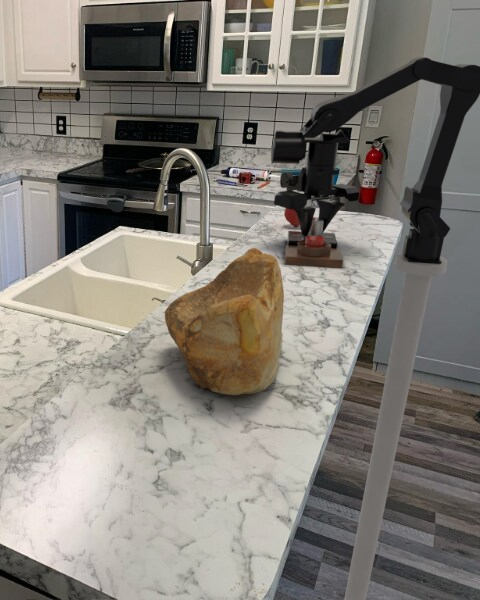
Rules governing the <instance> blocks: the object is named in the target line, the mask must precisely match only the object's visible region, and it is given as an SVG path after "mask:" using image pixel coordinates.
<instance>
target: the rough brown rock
mask: <svg viewBox="0 0 480 600" xmlns="http://www.w3.org/2000/svg"><path fill="white" fill-rule="evenodd" d="M283 283H284V282H283V275H282V270H281V267H280V264H279V261H278V259H277V258H276V256H274V255H272V254H270V253H269V254H267V253H266V252H265V253H263V252H262V251H261V250H260V249H258V248H257V247H251V248H249V249H248V250H246V252H245V253H244V254H243V255H242V254H241V256H239V257H237V258H235V259H234V260H233V261H231V262H230V263H229V264H228V265H227V266H226V267H225V268H224V269H223V270H222V271H220V272H219V273H218V274H217V275H216V276H215V278H214V279H213V280H211V281H210V282H208V283H207V284H206V285H205V286H202V287H200V288H197V289H195V290H192V291H189V292H186V293H184V294H182V295H180V296H178V297H177V298H176V299H175V300H173V301H172V302H171V303H170V304H168V306H167V308H166V309H165V311H164V321H165V324H166V327H167V331H168V333H169V336H170V338H171V339H172V340H173V342H174V343H175V344H176V346H177V347H178V349H179V351H180V354H181V355H182V356H183V359H184V361H185V364H186V366H187V369H188V372H189V375H190V376H191V378H192V379H193V381H194V382H195V384H196V385H198V386H199V387H200V388H201V389H203V390H204V389H207V388H208V389H209V390H210V391H211V392H213V393H217V394H222V395H228V396H240V395H252V394H257V393H260V392H262V391H265V390H266V389H267V388H269V387H270V386H271V384H272V383H273V382H274V381H275V379H276V376H277V374H278V368H279V361H280V360H279V359H280V355H281V351H282V348H283V335H284V334H283V332H282V329H283V318H284V303H285V302H284V301H285V291H284V284H283Z"/></svg>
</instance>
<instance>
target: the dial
mask: <svg viewBox="0 0 480 600" xmlns="http://www.w3.org/2000/svg"><path fill="white" fill-rule="evenodd" d="M323 223H324V219H322V218H319V216H313V220H312V223H311V226H310V229H309V232H308V234H307V236H321V237H322V231H323ZM307 236H303V237H305V238H306V237H307Z"/></svg>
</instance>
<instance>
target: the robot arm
mask: <svg viewBox="0 0 480 600" xmlns="http://www.w3.org/2000/svg"><path fill="white" fill-rule="evenodd" d="M419 81H426V82H429V83H433V84H435V85H440V92H439V103H440V104H439V105H440V110H439V111H440V112H439V115H438V118H437V121H436V124H435V127H434V130H433V134H432V137H431V139H430V143H429V146H428V150H427V153H426V155H425V159H424V162H423V165H422V168H421V171H420V174H419V177H418V180H417V181H416V183H414V185H413V186H412V187H410V186H405V187H404V191H403V192H404V193H403V197H402V200H401V201H400V203H399V205H400V206H401V213H402V215H403V217H404V218H405V219H406V220H407V221H408V223H409V226H410V228H409V230H408V235H405V237H404V242H403V247H402V252H401V253H403V255H404V256H405V258H406V260H407V261H408V262H416V263H431V264H441V263H442V261H441V260H440V256H441V257H442V255H441V254H442V250H443V245H444V241H445V238H446V236H447V235H448V234H449V232H450V231H451V227H450V226H449V225H448V224H447V223H446V222H445V220H444V219H443V218H441V213H442V208H443V207H442V206H443V183H444V180H445V177H446V174H447V171H448V168H449V165H450V162H451V159H452V157H453V153H454V150H455V148H456V144H457V142H458V138H459V135H460V133H461V130H462V127H463V123H464V121H465V118H466V115H467V114H468V112H469V111H470V110H471V109H472V107H473V106H474V105H475V103H476V102H477V100H478V99H479V97H480V65H477V64H471V63H470V64H467V63H460V64H459V63H458V64H456V65H455V64H454V65H453V64H449V63H445V62H440V61H437V60H433V59H431V58H429V57H426V56H425V57H423V56H421V57H419V56H417V57H414V58H412V59H410V61H409V62H407V63H405V64H404V65H402V66H400V67H397V68H396V69H394V70H392V71H390V72H388V73H386V74H385V75H383V76H381V77H379V78H377V79H375V80H373V81H371V82H369V83H368V84H367V83H366V84H365V85H363V86H361V87H360V88H358V89H356V90H354V91H352V92H349V93H345V94H342V95H338V96H334V97H332V98H328V99H326V100H323V101H320V102H318V103H317V104H316V105H314V107H313V108H312V110H311V113H310V118H309V119H308V120H307V121H306V122H305V123H304V124H303V126H302V127H300V129H299V131H297V130H295V131H288V130H287V131H286V130H275V131H274V135H273V142H272V144H271V152H270V153H271V154H270V161H271V162H270V163H271V164H295V165H296V164H300V162H301V161H303V160H305V159H306V154H307V160H306V166H303V167H302V168H301V170H300V173H299V174H295V175H294V173H293V172H292V171H289V172H283V173H281V174H280V179H279V185H280V188H281V189H285V190H283V191H282V190H281V191H278V192H276V194H275V195H274V198H273V199H274V201H273V205H275V206H277V207H281V208H283V209H286V208H287V209H291V210H294V211H295V212H296V215H297V217H298V221H299V224H300V225H299V228H300V231H301V232H302V235H303V236H307V234H308V232H309V229H310V226H311V223H312V220H313V217H315V213H316V209H317V208H316V207H314V206H312V204H313V202H316V203H317V206H318V208H319V209H318V217H319V218H322V219H324V223H323V231H322V233H325V230H327V228H328V226H329V224H330V223H331V222H332V220H333V219H334V217H335V216H336V215H337V214H338V212H339V211H340V210H341V209H342V208H343V207H345V206H346V203H345V202H341V201H342V200H341V198H344V199H345V201H346V202H349V203H351V202H358V201H359V198H360V190H359V189H358V187H357V186H354V185H349V184H345V183H337V184H334V179H335V175H336V176H337V175H339V173H340V169H338V168H336V164H337V156H338V148H339V144H348V143H350V139H349V138H348V137H347V136H346V134H344V131H343V130H342V129H340V128H342V127H343V126H344V125H345V124H347V123H348V122H349V121H351V120H352V119H353V118H354V117H355V116H356V115H357V114H359V113H360V112H361V111H363V110H364V109H366V108H368V107H370V106H372V105H374V104H376V103H378V102H380V101H381V100H384V99H386V98H387V97H389V96H391V95H394V94H395V93H397V92H400V91H401V90H403V89H405V88H407V87H409V86H411V85H413V84H415V83H417V82H419ZM337 130H338V131H337ZM336 131H337V132H336ZM332 132H335V133H332ZM318 136H319V137H318ZM307 145H308V151H307Z"/></svg>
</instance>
